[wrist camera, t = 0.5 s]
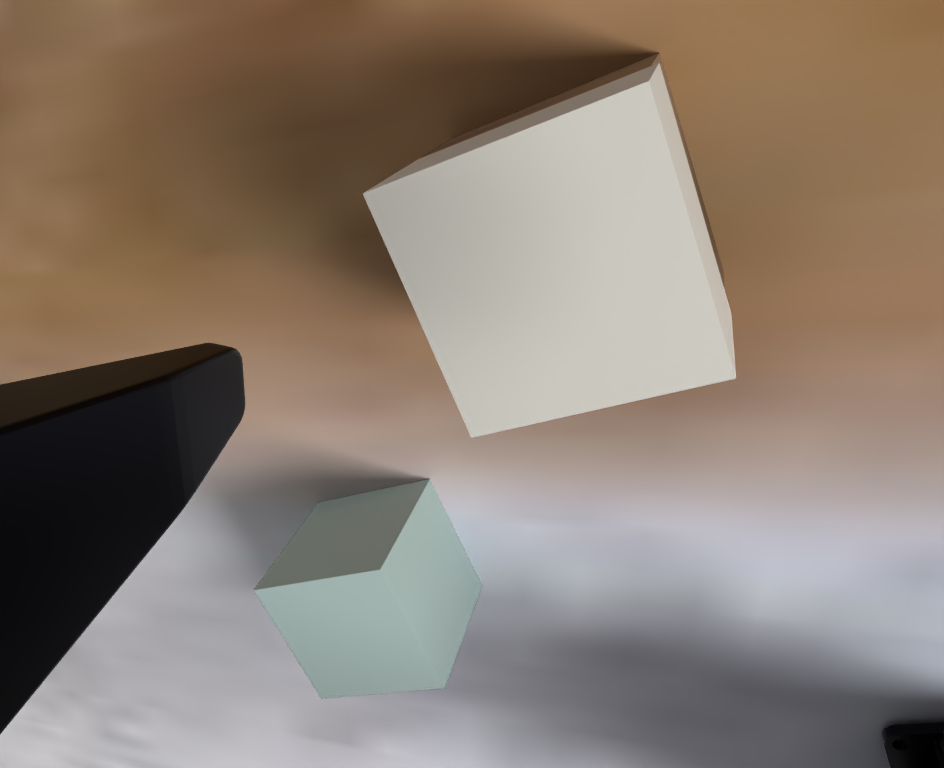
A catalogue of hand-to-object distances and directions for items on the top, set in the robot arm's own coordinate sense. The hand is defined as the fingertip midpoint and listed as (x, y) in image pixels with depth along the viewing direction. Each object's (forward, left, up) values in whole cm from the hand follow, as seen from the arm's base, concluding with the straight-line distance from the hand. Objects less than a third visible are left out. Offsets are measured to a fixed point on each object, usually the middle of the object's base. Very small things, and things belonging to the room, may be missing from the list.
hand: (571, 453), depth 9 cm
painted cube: (-10, +13, -14) cm, 21 cm away
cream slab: (0, +2, -10) cm, 10 cm away
